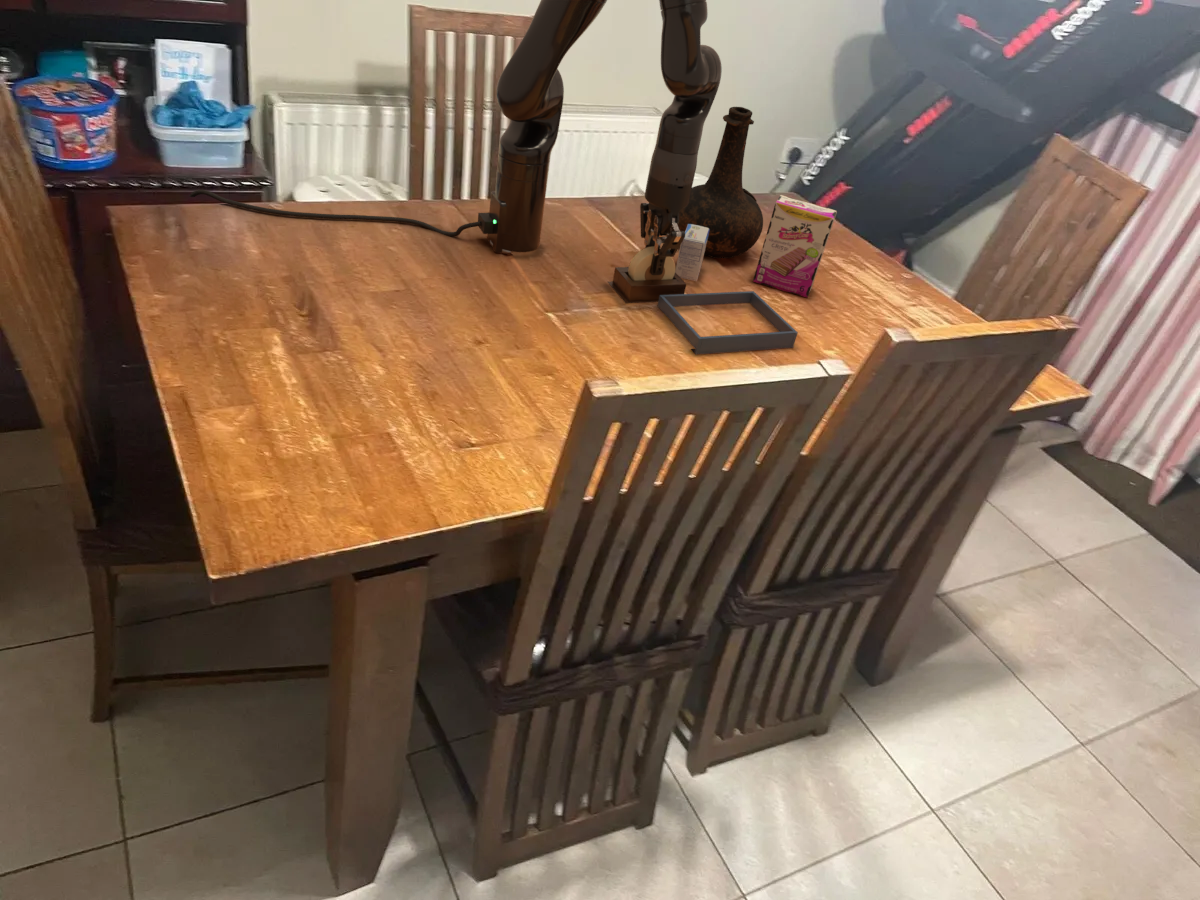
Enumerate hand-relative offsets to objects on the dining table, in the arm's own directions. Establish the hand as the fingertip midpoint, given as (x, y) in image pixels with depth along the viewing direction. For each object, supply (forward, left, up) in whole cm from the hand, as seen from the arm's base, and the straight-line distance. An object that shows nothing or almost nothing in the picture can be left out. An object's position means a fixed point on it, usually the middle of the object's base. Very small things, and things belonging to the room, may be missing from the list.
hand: (652, 269), depth 162 cm
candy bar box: (+30, +2, -5) cm, 31 cm away
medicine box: (+12, +8, -5) cm, 15 cm away
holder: (0, 0, -5) cm, 5 cm away
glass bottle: (+23, +19, -5) cm, 30 cm away
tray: (+9, -13, -5) cm, 17 cm away
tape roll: (0, 0, -4) cm, 4 cm away
